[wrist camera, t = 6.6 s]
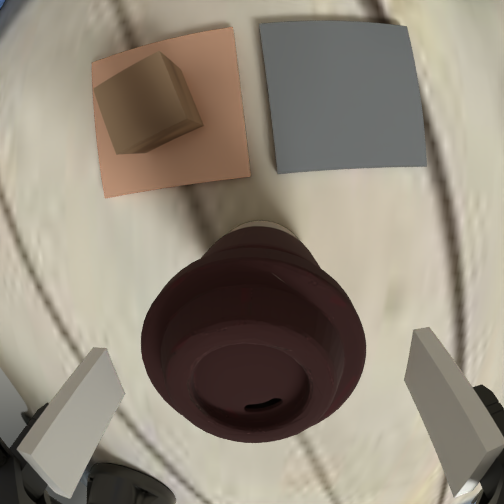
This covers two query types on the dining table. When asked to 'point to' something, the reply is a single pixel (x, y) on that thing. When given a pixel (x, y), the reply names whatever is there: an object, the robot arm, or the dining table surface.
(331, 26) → the slate tile
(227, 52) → the terracotta tile
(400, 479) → the dining table surface
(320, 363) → the coffee cup
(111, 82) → the walnut block
